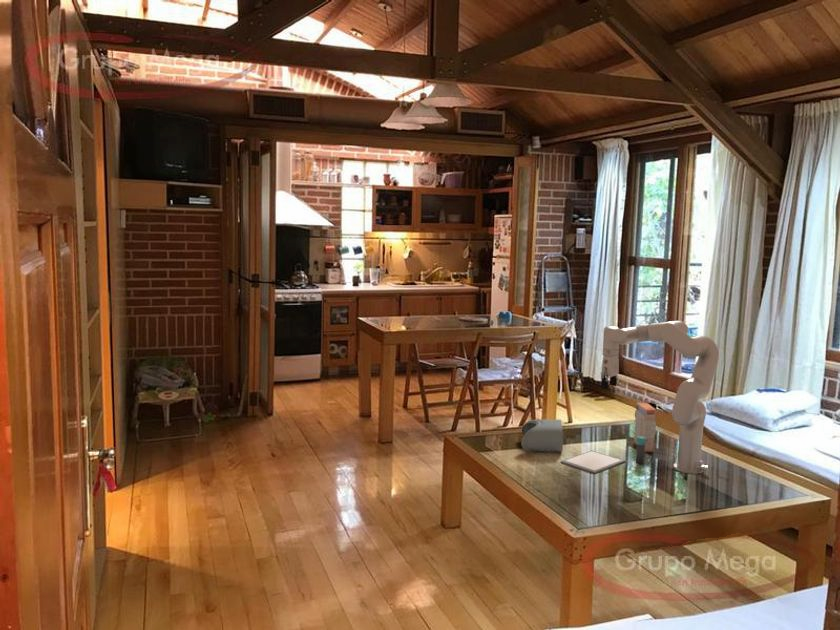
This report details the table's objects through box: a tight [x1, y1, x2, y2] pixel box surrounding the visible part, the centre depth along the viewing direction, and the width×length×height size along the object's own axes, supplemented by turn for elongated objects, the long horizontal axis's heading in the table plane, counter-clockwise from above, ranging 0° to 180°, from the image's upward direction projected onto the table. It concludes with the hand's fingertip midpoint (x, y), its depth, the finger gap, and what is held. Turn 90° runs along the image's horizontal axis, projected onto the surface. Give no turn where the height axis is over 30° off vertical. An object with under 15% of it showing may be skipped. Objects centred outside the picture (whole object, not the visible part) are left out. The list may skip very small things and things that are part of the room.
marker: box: [635, 437, 646, 466], centre depth 313 cm, size 4×4×12 cm
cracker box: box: [633, 402, 658, 453], centre depth 335 cm, size 14×6×21 cm, turn 179°
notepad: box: [560, 450, 626, 475], centre depth 314 cm, size 18×24×1 cm
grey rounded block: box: [520, 419, 564, 452], centre depth 332 cm, size 22×19×13 cm
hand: (608, 387), depth 333 cm, fingers open, 9 cm apart
